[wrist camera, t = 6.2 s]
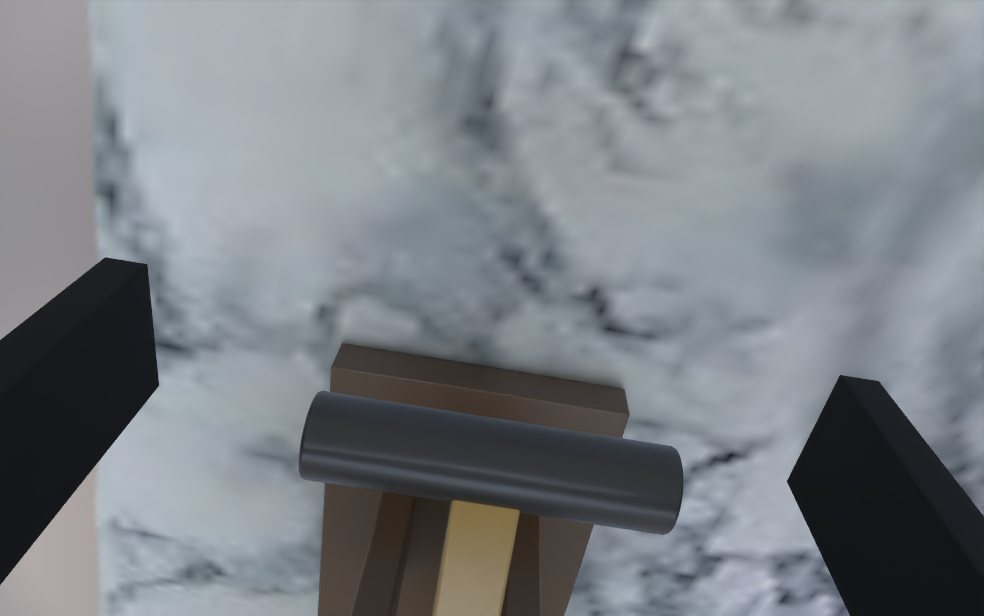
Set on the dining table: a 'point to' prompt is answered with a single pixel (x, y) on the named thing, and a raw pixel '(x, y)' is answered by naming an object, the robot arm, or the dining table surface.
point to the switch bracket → (422, 522)
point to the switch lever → (488, 481)
